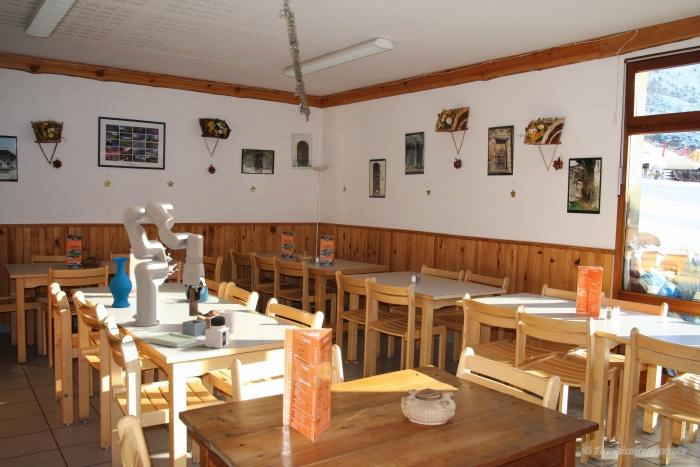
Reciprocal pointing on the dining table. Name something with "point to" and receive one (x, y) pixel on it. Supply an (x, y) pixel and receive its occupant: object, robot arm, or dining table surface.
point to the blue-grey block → (194, 328)
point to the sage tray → (173, 339)
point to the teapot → (202, 294)
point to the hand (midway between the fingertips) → (193, 298)
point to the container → (217, 333)
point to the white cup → (229, 318)
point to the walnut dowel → (193, 303)
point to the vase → (120, 284)
